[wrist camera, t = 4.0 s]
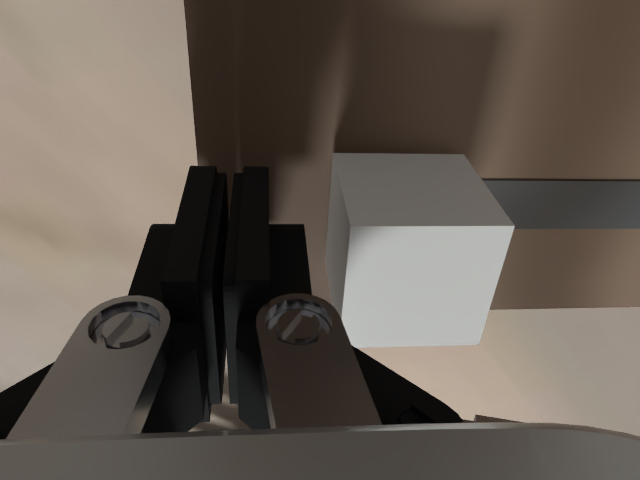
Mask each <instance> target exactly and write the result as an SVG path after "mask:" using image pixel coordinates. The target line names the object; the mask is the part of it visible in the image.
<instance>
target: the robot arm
mask: <svg viewBox="0 0 640 480" xmlns="http://www.w3.org/2000/svg"><path fill="white" fill-rule="evenodd" d="M226 348H227V364H228V380H229V395H230V404H233V403H238V408H239V418H240V419H241V420H242V421H244V422H245V423H246V424H247V425H248V426H250V427H251V428H252V429H247V430H220V431H194V432H188V431H189V430H190V429H192V428H193V427H194V426H195V425H197V424H198V423H199V422H210V414H211V404H221V403H222V395H223V383H224V371H225V359H226ZM0 480H640V437H639V436H635V435H632V434H628V433H624V432H618V431H612V430H606V429H601V428H595V427H589V426H580V425H569V424H558V423H524V422H517V421H511V420H505V419H499V418H493V417H487V416H481V415H475V418H474V421H469V420H463V419H461V418H460V416H459V415H458V414H457V413H456V412H455V411H454V410H452V409H451V408H450V407H449V406H447V405H446V404H445V403H443V402H441V401H440V400H438V399H437V398H435V397H434V396H432V395H430V394H429V393H427V392H426V391H424V390H422V389H421V388H419V387H418V386H416V385H414V384H413V383H411V382H410V381H408V380H406V379H405V378H403V377H402V376H400V375H398V374H397V373H395V372H394V371H392V370H390V369H389V368H387V367H386V366H384V365H382V364H381V363H379V362H378V361H376V360H374V359H373V358H371V357H370V356H368V355H367V354H365V353H363V352H362V351H360V350H359V349H357V348H355V347H354V346H352V345H351V343H350V340H349V338H348V335H347V333H346V330H345V327H344V325H343V322H342V320H341V317H340V315H339V313H338V312H337V310H336V309H335V307H334V306H332V305H331V304H330V303H329V302H327V301H326V300H324V299H322V298H319V297H317V296H314V295H312V289H311V280H310V271H309V262H308V253H307V244H306V235H305V227H304V224H269V167H252V166H244V170H243V173H234V177H233V186H232V196H231V205H230V214H229V209H228V189H227V174H226V173H217V167H216V166H190V168H189V172H188V176H187V180H186V184H185V188H184V191H183V195H182V199H181V203H180V207H179V211H178V215H177V219H176V222H175V224H153V225H151V227H150V229H149V232H148V235H147V238H146V241H145V245H144V248H143V251H142V254H141V257H140V260H139V263H138V266H137V269H136V272H135V275H134V278H133V281H132V284H131V287H130V290H129V293H128V296H123V297H118V298H113V299H111V300H108V301H106V302H104V303H101V304H99V305H98V306H96V307H95V308H93V309H92V310H90V311H89V312H88V313H87V314H86V316H85V317H84V318H83V319H82V320H81V322H80V323H79V325H78V326H77V328H76V330H75V331H74V333H73V334H72V336H71V337H70V339H69V340H68V342H67V344H66V345H65V347H64V348H63V350H62V351H61V353H60V355H59V356H58V358H57V359H56V361H55V362H53V363H52V364H50V365H48V366H46V367H45V368H43V369H41V370H39V371H38V372H36V373H34V374H32V375H31V376H29V377H27V378H25V379H24V380H22V381H20V382H18V383H16V384H15V385H13V386H11V387H9V388H8V389H6V390H4V391H2V392H1V393H0Z"/></svg>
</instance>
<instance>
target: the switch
mask: <svg viewBox="0 0 640 480" xmlns="http://www.w3.org/2000/svg"><path fill="white" fill-rule="evenodd" d="M514 227H515V225H514V224H513V223H512V221H511V220H510V218H509V217H508V216H507V214H506V213H505V211H504V210H503V209H502V207H501V206H500V204H499V203H498V202H497V200H496V199H495V197H494V196H493V195H492V193H491V192H490V190H489V189H488V187H487V186H486V185H485V183H484V182H483V180H482V179H481V178H480V176H479V175H478V173H477V172H476V171H475V169H474V168H473V166H472V165H471V164H470V162H469V161H468V159H467V158H466V157H465V155H464V154H389V153H333V157H332V171H331V185H330V199H329V213H328V227H327V241H326V256H325V264H326V271H327V277H328V284H329V290H330V297H331V303H332V306H334V307H335V309H336V310H337V312H338V313H339V315H340V317H341V320H342V322H343V325H344V327H345V330H346V333H347V335H348V338H349V340H350V343H351V345H352V346H354V347H355V348H369V347H407V346H446V345H479V342H480V338H481V335H482V332H483V329H484V325H485V322H486V319H487V315H488V312H489V309H490V306H491V302H492V299H493V296H494V293H495V289H496V286H497V283H498V279H499V276H500V273H501V270H502V266H503V263H504V260H505V256H506V253H507V250H508V247H509V243H510V240H511V237H512V234H513V230H514Z"/></svg>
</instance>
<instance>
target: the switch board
mask: <svg viewBox="0 0 640 480" xmlns="http://www.w3.org/2000/svg"><path fill="white" fill-rule="evenodd" d="M184 7H185V19H186V31H187V42H188V54H189V66H190V78H191V89H192V101H193V113H194V124H195V136H196V148H197V160H198V166H216V167H217V173H226V174H227V189H228V209H229V214H230V205H231V196H232V186H233V177H234V173H243V170H244V166H252V167H269V224H304V227H305V235H306V244H307V253H308V262H309V271H310V280H311V289H312V295H314V296H317V297H319V298H322V299H324V300H326V301H327V302H329V303H330V304H331V305H332V303H331V297H330V290H329V284H328V277H327V271H326V264H325V256H326V241H327V227H328V213H329V199H330V185H331V171H332V157H333V153H389V154H464V155H465V157H466V158H467V159H468V161H469V162H470V164H471V165H472V166H473V168H474V169H475V171H476V172H477V173H478V175H479V176H480V178H481V179H482V180H483V182H484V183H485V185H486V186H487V187H488V189H489V190H490V192H491V193H492V195H493V196H494V197H495V199H496V200H497V202H498V203H499V204H500V206H501V207H502V209H503V210H504V211H505V213H506V214H507V216H508V217H509V218H510V220H511V221H512V223H513V224H514V225H515V227H514V230H513V234H512V237H511V240H510V243H509V247H508V250H507V253H506V256H505V260H504V263H503V266H502V270H501V273H500V276H499V279H498V283H497V286H496V289H495V293H494V296H493V299H492V302H491V306H490V309H489V310H496V309H548V308H600V307H640V0H184Z"/></svg>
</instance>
